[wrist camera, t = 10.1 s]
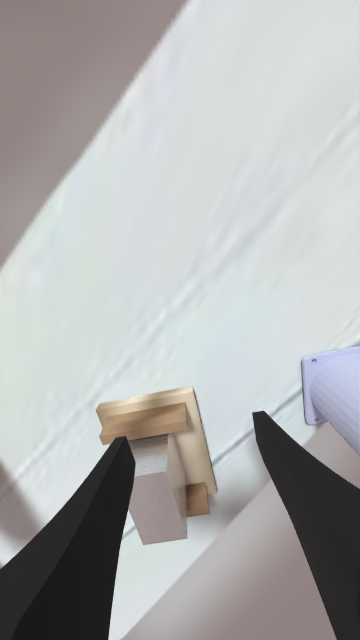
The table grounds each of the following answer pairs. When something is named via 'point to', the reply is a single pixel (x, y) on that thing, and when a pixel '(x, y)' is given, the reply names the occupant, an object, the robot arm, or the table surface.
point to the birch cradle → (161, 418)
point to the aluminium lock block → (158, 490)
